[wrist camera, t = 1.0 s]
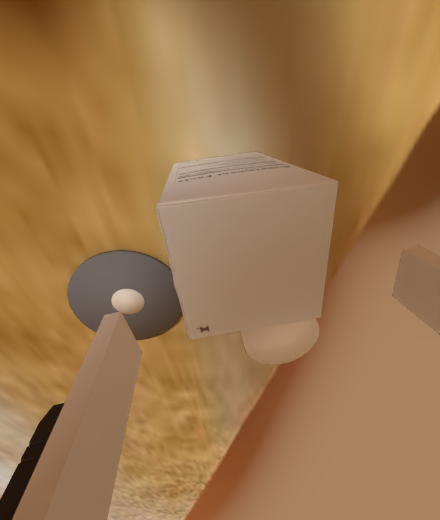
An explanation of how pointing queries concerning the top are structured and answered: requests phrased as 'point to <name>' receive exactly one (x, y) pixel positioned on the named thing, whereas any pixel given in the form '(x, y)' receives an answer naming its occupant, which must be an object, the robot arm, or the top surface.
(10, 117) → the top surface
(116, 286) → the base disk
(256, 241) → the supplement box
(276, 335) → the beige rounded cylinder
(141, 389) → the top surface
